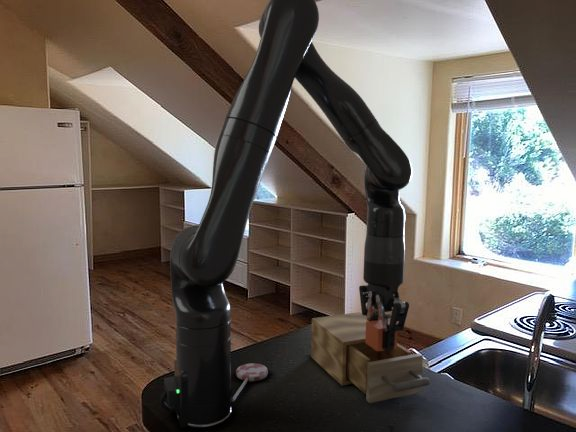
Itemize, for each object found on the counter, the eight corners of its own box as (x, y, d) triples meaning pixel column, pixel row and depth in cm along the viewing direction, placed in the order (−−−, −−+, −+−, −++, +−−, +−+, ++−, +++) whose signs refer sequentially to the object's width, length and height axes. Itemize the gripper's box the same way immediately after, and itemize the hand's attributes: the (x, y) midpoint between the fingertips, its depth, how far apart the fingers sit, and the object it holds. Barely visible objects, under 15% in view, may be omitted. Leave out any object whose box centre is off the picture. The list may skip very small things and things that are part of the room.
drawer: (438, 404, 86) (440, 366, 85) (384, 417, 82) (386, 376, 81) (381, 363, 103) (382, 331, 102) (334, 371, 99) (335, 338, 98)
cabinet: (395, 375, 100) (397, 333, 98) (341, 385, 95) (343, 342, 94) (359, 349, 113) (360, 311, 112) (310, 357, 108) (311, 318, 107)
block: (377, 351, 90) (378, 329, 89) (365, 343, 94) (365, 321, 93) (396, 348, 91) (398, 326, 91) (384, 340, 95) (384, 318, 95)
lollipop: (215, 395, 88) (241, 361, 103) (215, 400, 88) (241, 366, 103) (249, 399, 87) (271, 364, 101) (250, 405, 87) (271, 369, 101)
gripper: (424, 264, 85) (419, 356, 87) (380, 249, 98) (376, 329, 101) (388, 267, 83) (384, 362, 85) (348, 252, 96) (345, 334, 98)
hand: (380, 343), depth 93 cm, fingers closed on block, 4 cm apart
